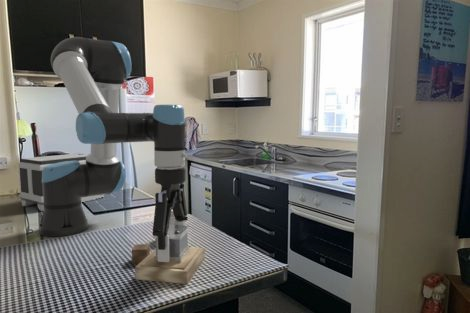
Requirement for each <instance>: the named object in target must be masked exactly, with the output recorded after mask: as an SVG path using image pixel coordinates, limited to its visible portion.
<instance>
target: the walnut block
mask: <svg viewBox="0 0 470 313" xmlns="http://www.w3.org/2000/svg"><path fill="white" fill-rule="evenodd" d="M150 245H151V244H150V243H143V244H140V243H139V244H134V245H133V247H132V249H131V265H138V264H139V263H140V262H141V261H143V260H144V259H145V258H146V257H147V256H148V255H149V254H150V253H151V249H150V248H151V246H150Z"/></svg>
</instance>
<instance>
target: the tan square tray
mask: <svg viewBox="0 0 470 313" xmlns="http://www.w3.org/2000/svg"><path fill="white" fill-rule="evenodd" d="M189 247H190V252H189V253H188V254H187V256H186V257H185V258H184V259H183V261H182V262H158V261H156V260H154V255H155V254H156V248H154V250H152V251H150V254H149V255H148V256H147V257H146V258H145V259H144V260H143V261H141V262H140V263H139V264H136V266H135V267H134V271H135V272H134V273H135V276H134V277H135V280H137V281H138V280H140V281H148V282H149V281H152V282H161V283H162V282H163V283H175V284H183V285H184V284H185V285H188V284H189V282H190V281H191V279H192V278H193V276H194V275H195V274H196V272H197V270H198V269H199V268H200V266H201V264H203V261H204V260H205V257H206V256H205V255H206V254H205V252H206V250H205V247H195V246H194V247H193V246H189Z"/></svg>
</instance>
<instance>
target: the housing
mask: <svg viewBox="0 0 470 313" xmlns="http://www.w3.org/2000/svg"><path fill="white" fill-rule="evenodd" d="M189 231H190V225H185V226H180V225H169V227H168V233H167V235H169V257H170V261H169V262H182V261H183V259H184V258H185V257H186V256H187V254H188V253H189V252H190V247H191V246H189V242H188V240H189V239H188V238H189V236H188V234H189ZM152 238H154V239H155V249H156V254H155V255H154V260H156V261H158V250H157V236H153V235H152Z"/></svg>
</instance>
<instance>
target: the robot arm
mask: <svg viewBox="0 0 470 313" xmlns="http://www.w3.org/2000/svg"><path fill="white" fill-rule="evenodd" d="M50 65H51V68H52V70H53V73H54V74H55V75H56V76H57V77H58V78H59V79H60V80H61V81H62V83H63V85H64V87H65V89H66V91H67V93H68V96H69V97H70V99H71V101H72V102H73V105H74V108H75V109H76V111H77V113H78V114H77V116H76V119H75V132H76V136H77V139H78V141H79V142H80V143H82V144H84V145H85V144H86V145H89V144H90V153H89V154H90V155H88V156H87V157H86V164H80V163H79V161H65V162H59V163H54V164H51V165H48V166H46V167H44V169H43V170H42V185H43V200H44V211H42V215H41V220H40V223H39V226H38V229H39V235H41V236H44V237H64V236H71V235H75V234H78V233H81V232H84V231H85V230H87V229H88V228H89V220H88V218H87V216H86V214H85V211H84V209H83V206H82V204H83V203H81V198H82V197H88V196H96V195H104V196H105V195H111V194H115V193H118V192H120V191H122V190H123V187H124V185H125V183H126V177H127V172H126V166H125V164H124V163H123V162H122V161H121V158H120V157H119V156H118V155H117V144H121V143H139V142H140V143H143V142H146V143H147V142H154V143H153V146H154V150H153V152H154V154H153V156H154V160H153V162H154V166H155V167H156V168H155V169H154V181H155V184H157V185H160V186H161V188H160V189H161V190H160V192H155V197H154V198H155V203H154V204H155V205H154V206H155V207H154V215H153V225H152V237H153V236H157V250H158V262H169V261H170V257H169V235H167V233H168V227H169V221H170V216H171V211H173V213H174V217H175V220H177V221H174V225H180V226H184V221H188V220H189V219H188V210H187V203H186V196H185V182H186V179H187V178H186V173H187V172H186V168H185V167H184V166H185V165H186V159H187V158H188V154H186V150H185V149H186V118H185V108H184V107H183V106H182V105H181V104H156V105H154V107H153V111H152V112H119V97H120V96H119V95H120V88H121V87H122V86H124V84H125V80H126V79H129V77H131V74H132V58H131V54H130V52H129V50H128V48H127V47H126V45H124V44H123V43H121V42H116V41H112V40H103V39H95V38H88V37H82V36H72V37H69V38H65V39H64V40H61V41H60V42H58V44H56V46H54V49H53V50H52V52H51V54H50ZM185 216H186V217H185ZM183 220H184V221H183Z"/></svg>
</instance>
